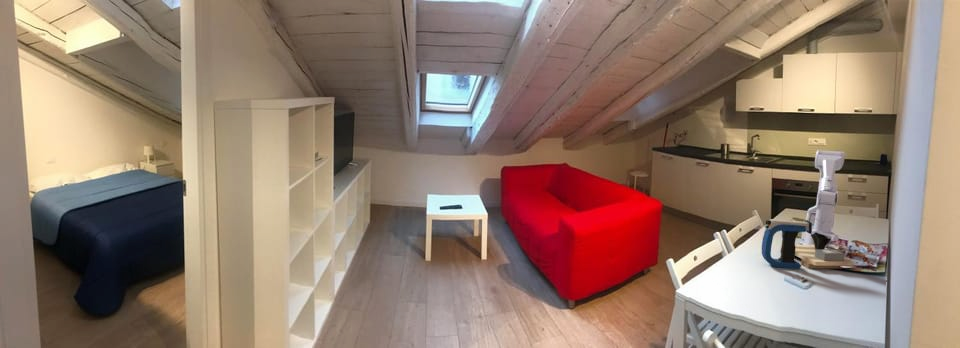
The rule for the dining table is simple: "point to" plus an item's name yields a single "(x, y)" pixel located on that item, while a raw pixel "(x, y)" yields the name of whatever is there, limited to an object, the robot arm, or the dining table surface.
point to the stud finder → (829, 255)
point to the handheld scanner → (783, 241)
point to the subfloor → (813, 262)
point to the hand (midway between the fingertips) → (818, 251)
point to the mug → (798, 220)
